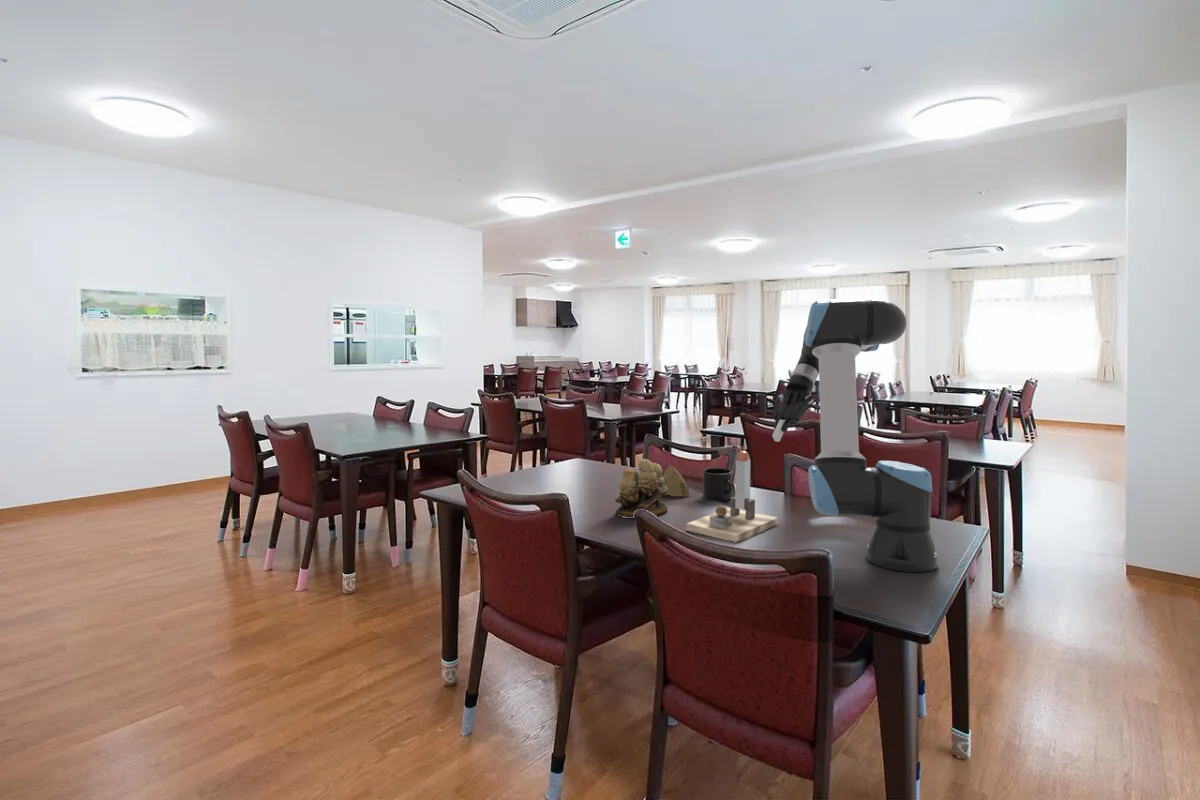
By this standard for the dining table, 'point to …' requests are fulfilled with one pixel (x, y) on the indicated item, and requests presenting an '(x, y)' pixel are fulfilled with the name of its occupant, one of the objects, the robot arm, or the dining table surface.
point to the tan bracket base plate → (733, 522)
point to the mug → (717, 484)
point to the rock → (675, 483)
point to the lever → (742, 480)
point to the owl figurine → (642, 490)
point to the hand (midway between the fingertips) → (775, 438)
